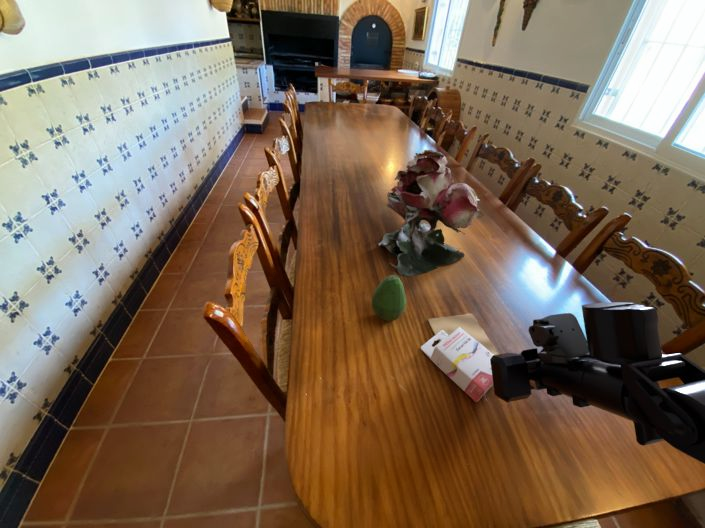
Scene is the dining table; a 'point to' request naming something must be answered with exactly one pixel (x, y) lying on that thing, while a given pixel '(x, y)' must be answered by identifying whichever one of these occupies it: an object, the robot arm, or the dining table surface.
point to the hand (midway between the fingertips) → (511, 357)
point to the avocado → (389, 298)
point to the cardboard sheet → (465, 323)
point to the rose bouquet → (428, 214)
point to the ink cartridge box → (462, 361)
